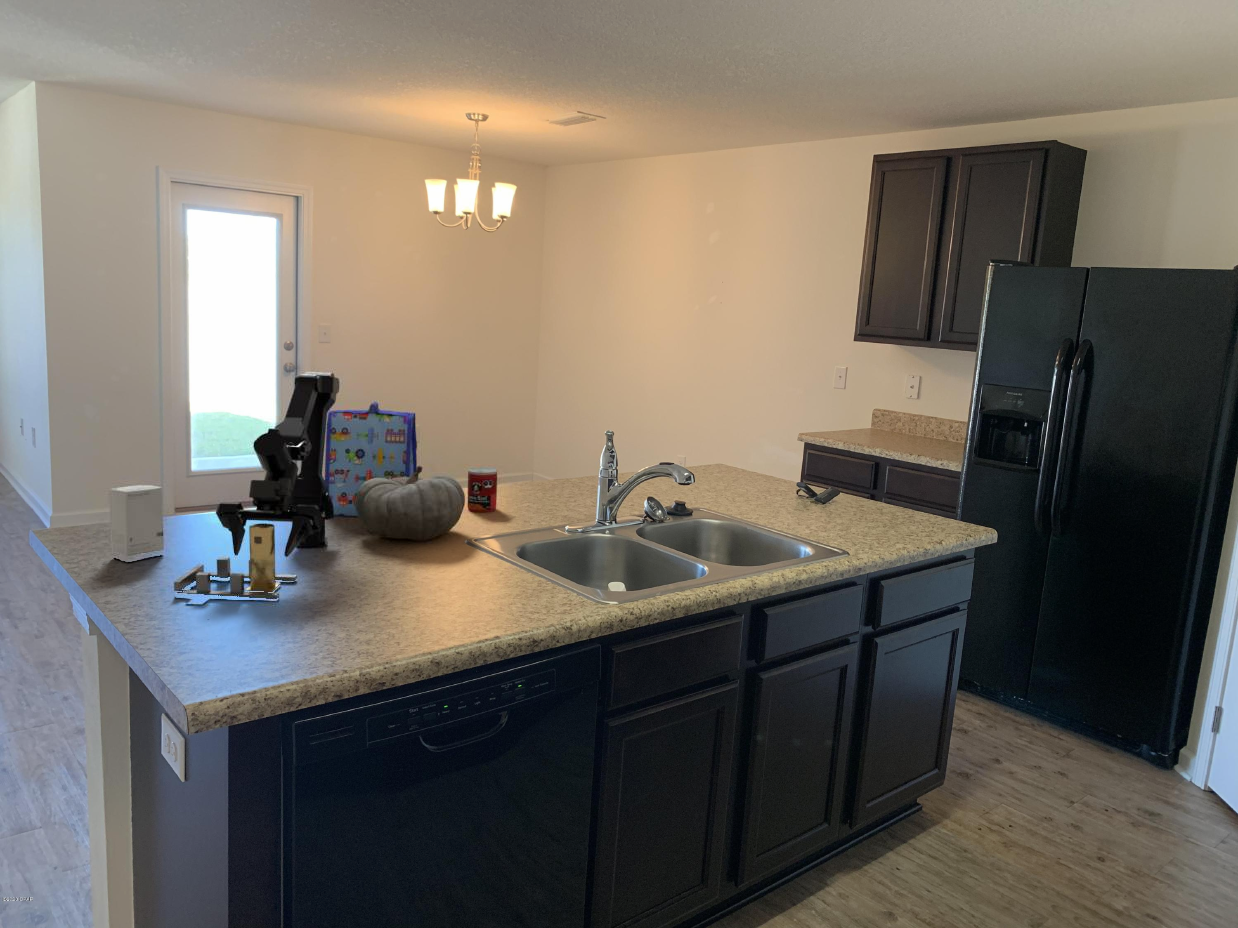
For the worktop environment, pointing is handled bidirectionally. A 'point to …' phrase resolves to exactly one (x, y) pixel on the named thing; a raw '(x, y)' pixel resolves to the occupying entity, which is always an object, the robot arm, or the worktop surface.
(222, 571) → the frame
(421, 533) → the gourd
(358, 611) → the worktop surface
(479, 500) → the canned food
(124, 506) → the skincare box
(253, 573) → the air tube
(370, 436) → the lunch bag
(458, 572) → the worktop surface
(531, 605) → the worktop surface
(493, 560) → the worktop surface
